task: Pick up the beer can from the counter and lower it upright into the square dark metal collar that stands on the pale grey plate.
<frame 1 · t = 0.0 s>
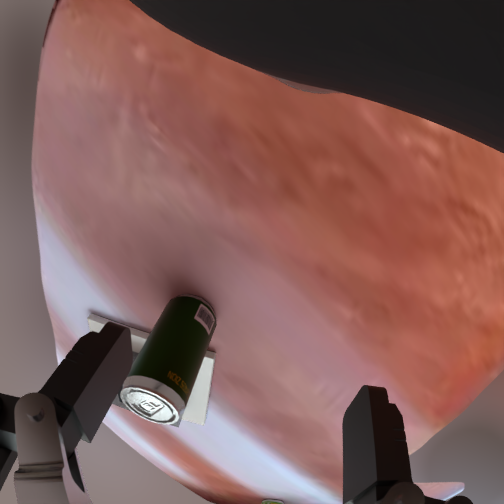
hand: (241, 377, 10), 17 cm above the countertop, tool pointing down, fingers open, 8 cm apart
beer can: (193, 311, 32), on the countertop
holder plate: (151, 374, 39), on the countertop
supplement bottle: (273, 501, 60), on the countertop
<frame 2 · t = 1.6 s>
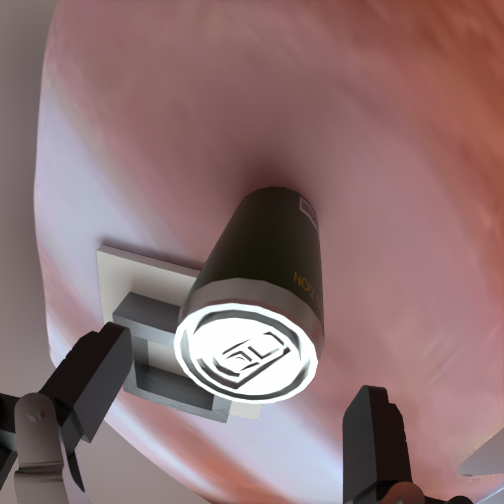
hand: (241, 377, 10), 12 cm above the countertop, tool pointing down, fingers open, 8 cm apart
can collar: (179, 364, 25), on the holder plate, point 2 cm above the countertop
beer can: (276, 222, 21), on the countertop
holder plate: (187, 344, 27), on the countertop
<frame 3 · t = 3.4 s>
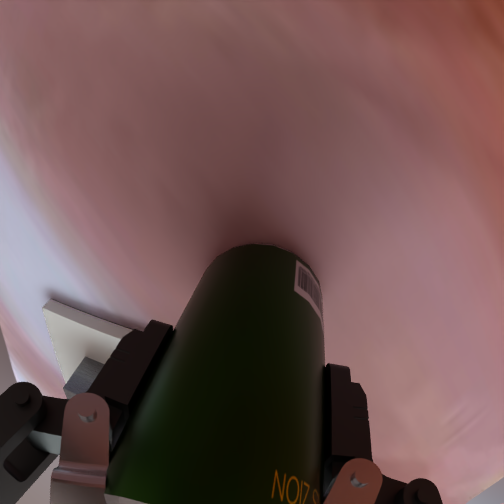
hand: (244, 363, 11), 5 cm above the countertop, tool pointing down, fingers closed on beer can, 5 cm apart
can collar: (149, 437, 19), on the holder plate, point 2 cm above the countertop
beer can: (263, 287, 15), on the countertop, touching gripper
holder plate: (161, 411, 21), on the countertop
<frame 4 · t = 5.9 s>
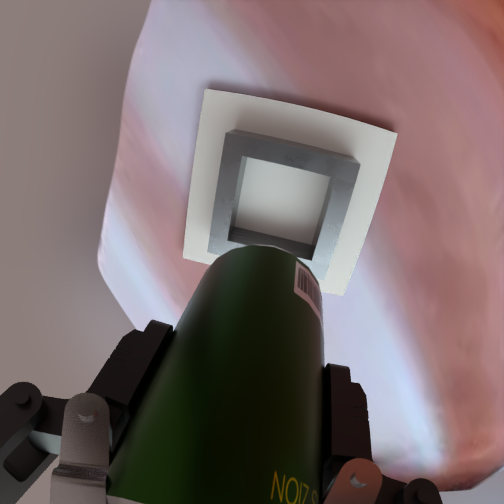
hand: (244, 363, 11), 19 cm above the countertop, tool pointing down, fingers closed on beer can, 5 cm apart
can collar: (280, 204, 26), on the holder plate, point 2 cm above the countertop
beer can: (262, 288, 15), point 15 cm above the countertop, touching gripper
holder plate: (282, 195, 28), on the countertop
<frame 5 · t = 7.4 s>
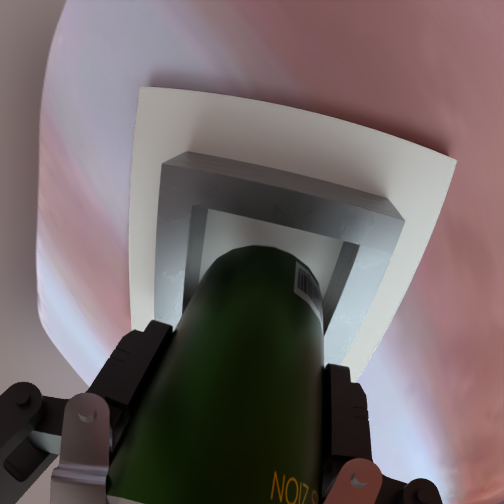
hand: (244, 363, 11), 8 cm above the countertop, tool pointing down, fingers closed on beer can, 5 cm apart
can collar: (263, 278, 16), on the holder plate, point 2 cm above the countertop
beer can: (262, 289, 15), point 3 cm above the countertop, touching gripper
holder plate: (268, 254, 18), on the countertop
when the fingers open (7 cm above the countertop, at t = 8.5 s): beer can drops 1 cm, resting on holder plate.
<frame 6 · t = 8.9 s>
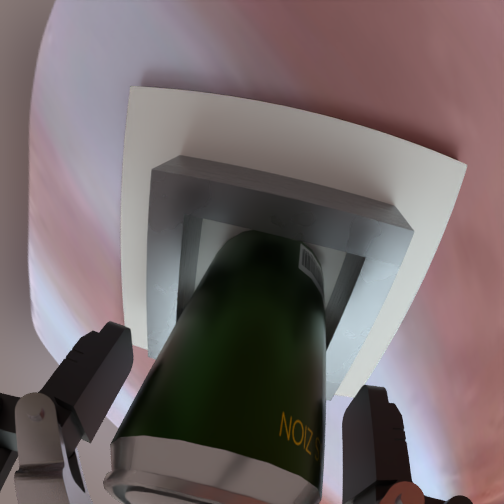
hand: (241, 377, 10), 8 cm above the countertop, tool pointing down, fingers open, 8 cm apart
can collar: (261, 290, 15), on the holder plate, point 2 cm above the countertop
beer can: (269, 271, 16), point 1 cm above the countertop, touching holder plate
holder plate: (267, 264, 17), on the countertop
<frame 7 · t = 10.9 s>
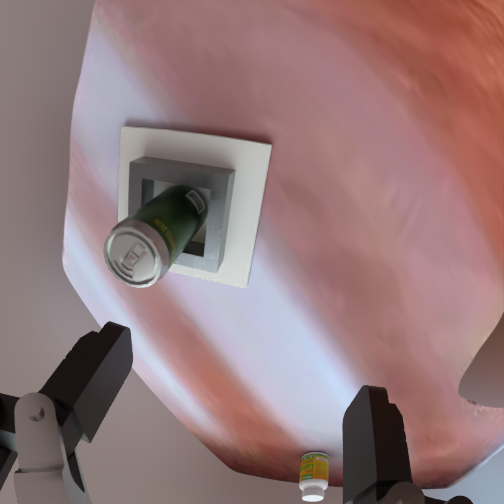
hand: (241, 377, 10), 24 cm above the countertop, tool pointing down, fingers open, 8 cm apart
can collar: (178, 213, 32), on the holder plate, point 2 cm above the countertop
beer can: (184, 207, 33), point 1 cm above the countertop, touching holder plate
holder plate: (186, 205, 34), on the countertop
supplement bottle: (315, 456, 53), on the countertop
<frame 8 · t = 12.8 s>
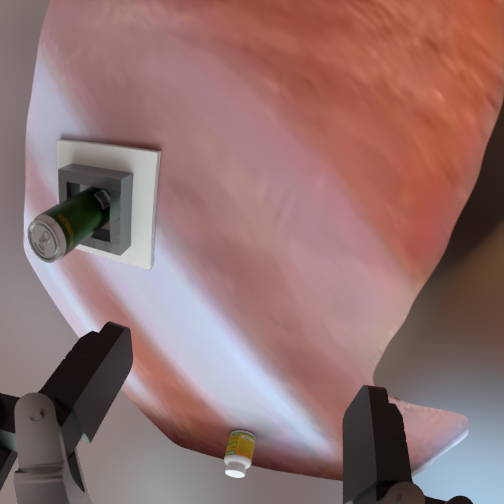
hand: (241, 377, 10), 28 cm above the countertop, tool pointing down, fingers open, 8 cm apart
can collar: (93, 207, 37), on the holder plate, point 2 cm above the countertop
beer can: (101, 203, 39), point 1 cm above the countertop, touching holder plate
holder plate: (103, 201, 40), on the countertop
supplement bottle: (243, 434, 60), on the countertop
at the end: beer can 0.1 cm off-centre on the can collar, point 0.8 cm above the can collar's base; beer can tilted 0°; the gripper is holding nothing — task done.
